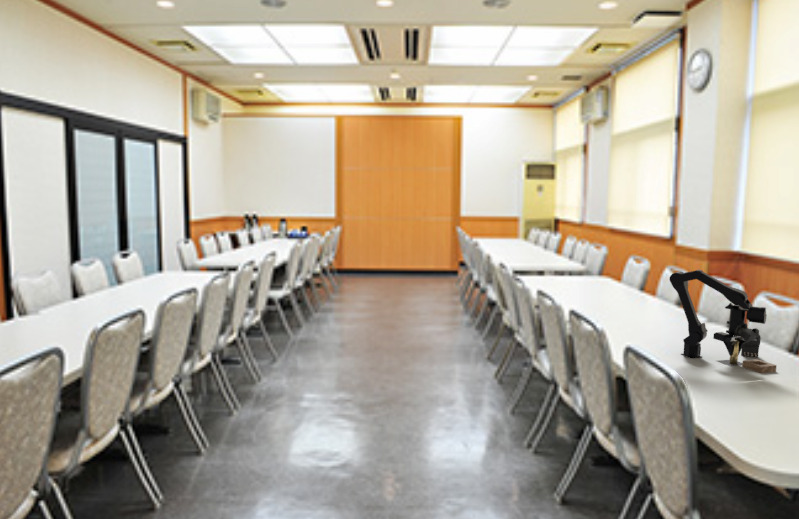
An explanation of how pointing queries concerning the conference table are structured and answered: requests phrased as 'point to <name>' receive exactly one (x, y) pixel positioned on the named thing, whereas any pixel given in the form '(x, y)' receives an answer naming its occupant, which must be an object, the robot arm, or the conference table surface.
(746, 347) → the battery charger
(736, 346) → the pin
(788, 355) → the conference table surface
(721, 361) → the mat
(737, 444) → the conference table surface
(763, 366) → the pin block
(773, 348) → the conference table surface
